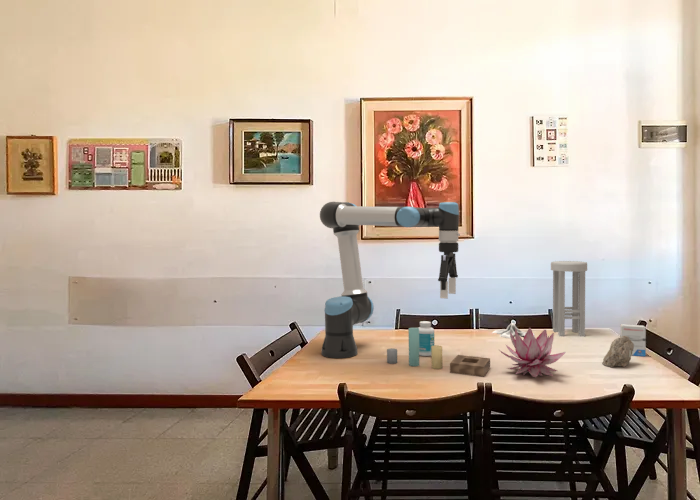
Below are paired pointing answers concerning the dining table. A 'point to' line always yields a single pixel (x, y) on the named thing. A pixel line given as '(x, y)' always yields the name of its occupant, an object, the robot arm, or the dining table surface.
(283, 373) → the dining table surface
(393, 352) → the short pin
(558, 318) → the stool
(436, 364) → the medium pin
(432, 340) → the pill bottle
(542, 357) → the decorative flower
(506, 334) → the cloth
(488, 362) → the socket block
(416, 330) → the long pin
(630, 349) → the rock
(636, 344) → the ink box
